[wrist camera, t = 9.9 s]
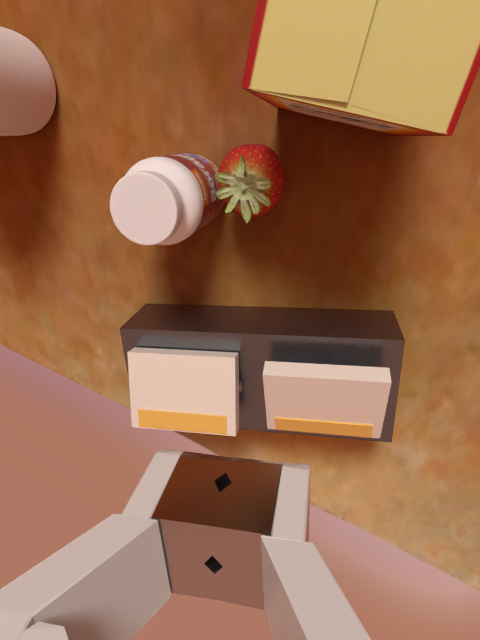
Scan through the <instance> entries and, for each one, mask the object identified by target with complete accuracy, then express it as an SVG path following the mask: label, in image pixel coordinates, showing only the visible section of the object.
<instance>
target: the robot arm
mask: <svg viewBox="0 0 480 640" xmlns="http://www.w3.org/2000/svg"><path fill="white" fill-rule="evenodd" d="M310 472H311V470H310V465H306V464H295V463H285V462H284V463H282V462H272V461H262V460H252V459H242V458H230V457H223V456H215V455H208V454H201V453H193V452H186V451H185V452H180V451H174V450H167V449H160V450H159V451H158V452H157V453H155V455H154V456H153V458H152V460H151V462H150V464H149V465H148V467H147V469H146V471H145V472H144V474H143V476H142V478H141V480H140V482H139V483H138V485H137V487H136V489H135V490H134V492H133V494H132V496H131V497H130V499H129V501H128V503H127V505H126V506H125V508H124V510H123V512H122V514H112V515H111V516H109V517H108V518H106V519H105V520H103V521H102V522H100V523H99V524H97V525H96V526H94V527H93V528H91V529H90V530H88V531H87V532H85V533H84V534H82V535H81V536H79V537H78V538H76V539H75V540H73V541H72V542H71V543H69V544H67V545H66V546H64V547H63V548H61V549H60V550H58V551H57V552H55V553H54V554H53V555H51V556H49V557H48V558H46V559H45V560H43V561H42V562H41V563H39V564H37V565H36V566H34V567H33V568H31V569H30V570H28V571H27V572H26V573H24V574H23V575H21V576H20V577H18V578H17V579H15V580H14V581H12V582H11V583H9V584H8V585H6V586H5V587H3V588H2V589H0V640H131V639H132V638H133V637H134V636H135V635H136V634H137V633H138V632H139V631H140V629H141V628H142V627H143V626H144V625H145V624H146V623H147V622H148V621H149V620H150V619H151V618H152V617H153V615H154V614H155V613H156V612H157V611H158V610H159V609H160V608H161V607H162V606H163V605H164V603H166V601H167V600H168V599H169V598H170V597H171V593H177V594H183V595H190V596H196V597H203V598H209V599H216V600H221V601H226V602H230V603H235V604H240V605H244V606H249V607H254V608H258V609H263V610H264V612H265V616H266V618H267V622H268V624H269V627H270V630H271V633H272V636H273V639H274V640H371V639H370V637H369V635H368V633H367V632H366V630H365V628H364V627H363V625H362V623H361V622H360V620H359V618H358V617H357V615H356V613H355V612H354V610H353V608H352V606H351V605H350V603H349V601H348V600H347V598H346V596H345V594H344V593H343V591H342V589H341V588H340V586H339V584H338V583H337V581H336V579H335V578H334V576H333V574H332V572H331V571H330V569H329V567H328V566H327V564H326V562H325V561H324V559H323V557H322V556H321V554H320V553H319V551H318V549H317V547H316V545H315V544H314V543H310V542H309V541H308V540H309V508H310V507H309V506H310Z"/></svg>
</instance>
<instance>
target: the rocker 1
mask: <svg viewBox="0 0 480 640" xmlns="http://www.w3.org/2000/svg"><path fill="white" fill-rule="evenodd" d="M127 355H128V371H129V387H130V403H131V418H132V427H137V428H148V429H159V430H170V431H181V432H192V433H203V434H214V435H225V436H236V434H237V432H238V430H239V353H236V352H216V351H197V350H177V349H158V348H138V347H135V348H133V349H131V350H130V351H128V352H127Z"/></svg>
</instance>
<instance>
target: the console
mask: <svg viewBox="0 0 480 640" xmlns="http://www.w3.org/2000/svg"><path fill="white" fill-rule="evenodd" d="M120 332H121V338H122V343H123V349H124V355H125V360H126V366H127V371H128V355H127V352H128V351H130V350H131V349H133V348H135V347H138V348H158V349H177V350H197V351H216V352H236V353H239V429H244V430H256V431H267V432H279V433H290V434H302V435H313V436H325V437H336V438H348V439H359V440H371V441H382V442H392V434H393V426H394V419H395V411H396V403H397V396H398V388H399V380H400V372H401V365H402V357H403V349H404V342H405V340H404V337H403V335H402V332H401V330H400V327H399V324H398V322H397V319H396V317H395V314H394V311H379V310H345V309H310V308H276V307H242V306H208V305H174V304H145V305H144V306H143V307H142V308H141V309H140V310H139V311H138V312H137V313H136V314H135V315H134V316H133V317H131V318H130V319H129V320H128V321H127V322H126V323H125V324H124V325H123V326H122V327H121V328H120ZM265 361H274V362H292V363H311V364H329V365H348V366H366V367H385V368H389V369H390V376H391V388H390V392H389V397H388V402H387V407H386V412H385V416H384V421H383V426H382V431H381V436H380V438H367V437H355V436H344V435H332V434H320V433H308V432H297V431H285V430H275V429H267V419H266V407H265V396H264V385H263V370H264V364H265ZM128 377H129V371H128Z"/></svg>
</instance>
